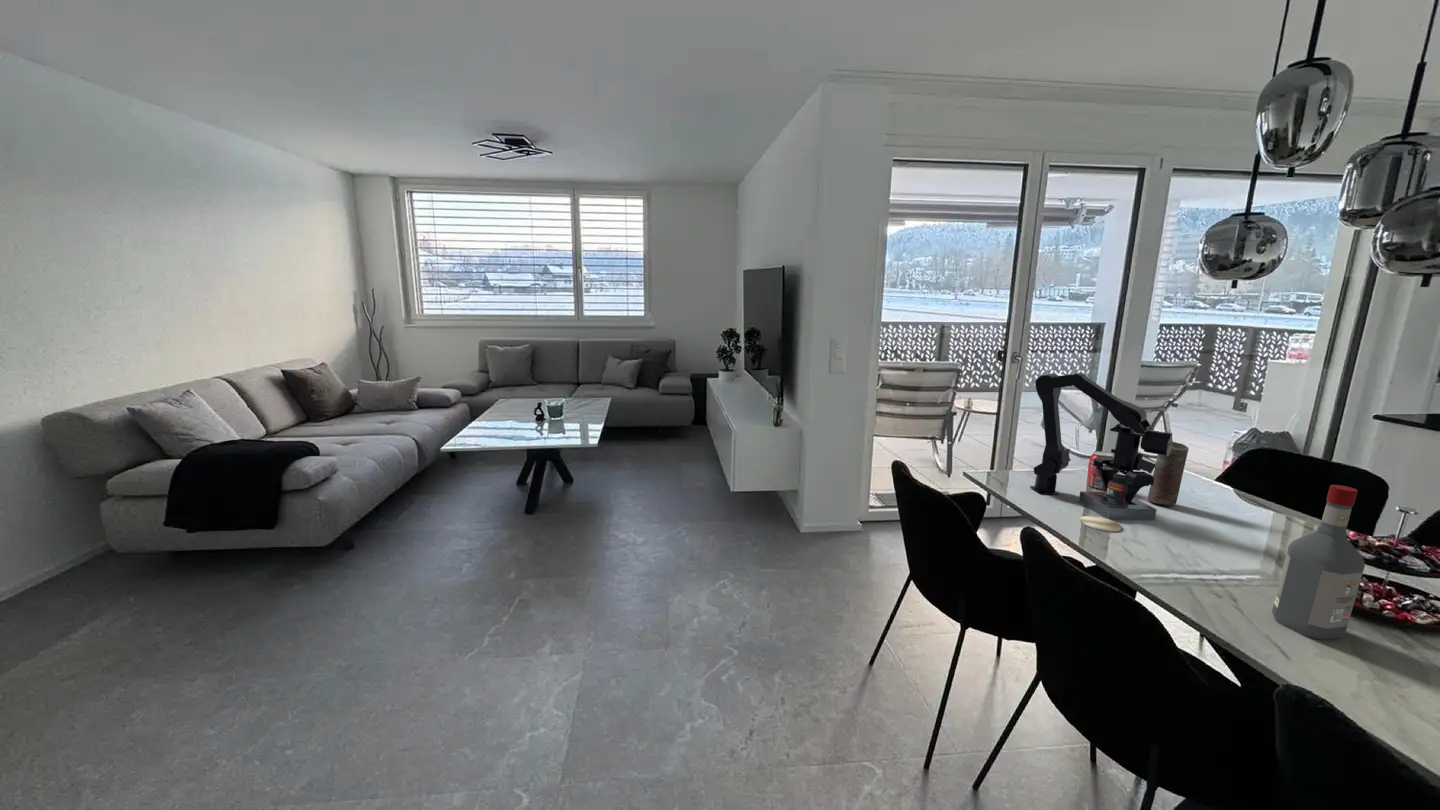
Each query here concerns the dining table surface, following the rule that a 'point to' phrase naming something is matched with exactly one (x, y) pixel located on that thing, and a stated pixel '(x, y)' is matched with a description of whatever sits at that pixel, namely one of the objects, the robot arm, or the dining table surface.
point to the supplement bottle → (1116, 490)
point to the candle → (1168, 476)
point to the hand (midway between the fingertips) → (1117, 496)
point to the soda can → (1095, 470)
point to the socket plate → (1117, 507)
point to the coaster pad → (1100, 523)
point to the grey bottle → (1321, 574)
